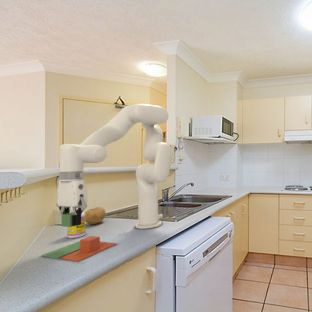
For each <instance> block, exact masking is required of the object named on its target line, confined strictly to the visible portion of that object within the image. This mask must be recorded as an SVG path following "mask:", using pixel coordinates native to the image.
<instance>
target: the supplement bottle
mask: <svg viewBox="0 0 312 312" xmlns="http://www.w3.org/2000/svg"><path fill="white" fill-rule="evenodd" d="M77 209H78V208H76V210H77ZM70 212H73V209H72V207H71V208H70ZM85 235H86V222H85V212H84V211H83V213H82V214H81V224H80V225H76V226H72V227H66V237H67V238H68V239H76V238H77V239H78V238H81V237H83V236H85Z"/></svg>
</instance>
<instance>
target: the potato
mask: <svg viewBox="0 0 312 312" xmlns="http://www.w3.org/2000/svg"><path fill="white" fill-rule="evenodd" d="M84 213H85V224H88V225H96V224H98V223H100V222H102V221H103V220H104V219H105V218H106V216H107V213H106V210H105V208H103V207H100V206H96V207H93V208H90V209H88V210H86V211H85V212H84Z"/></svg>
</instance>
